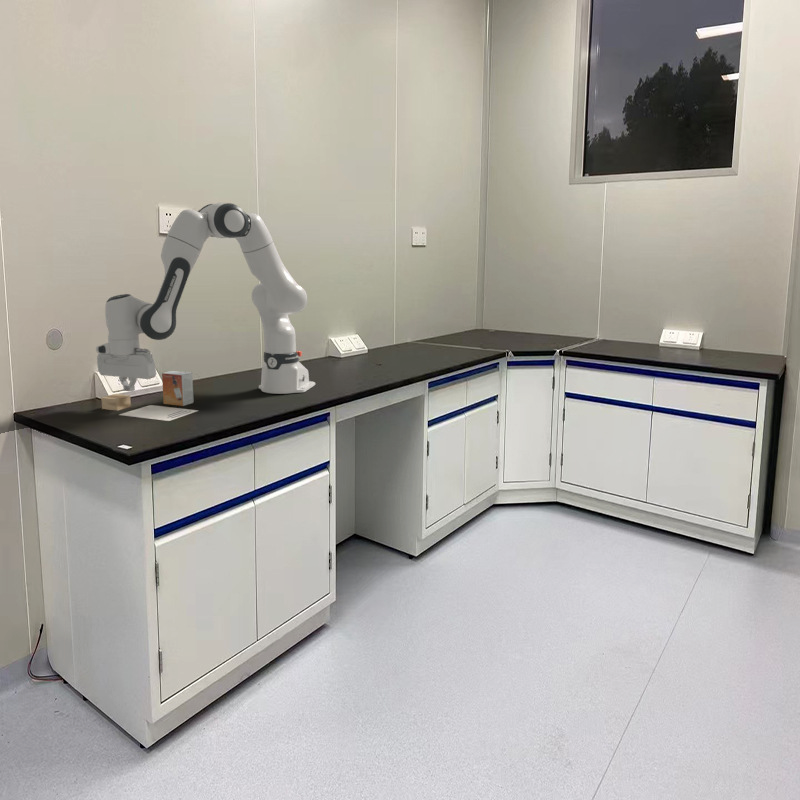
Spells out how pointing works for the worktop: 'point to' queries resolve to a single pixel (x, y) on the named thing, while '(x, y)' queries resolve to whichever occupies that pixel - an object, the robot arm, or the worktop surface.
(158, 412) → the letter
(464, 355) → the worktop surface
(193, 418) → the worktop surface
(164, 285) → the robot arm
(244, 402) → the worktop surface
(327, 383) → the worktop surface
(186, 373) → the small box
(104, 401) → the beech block
